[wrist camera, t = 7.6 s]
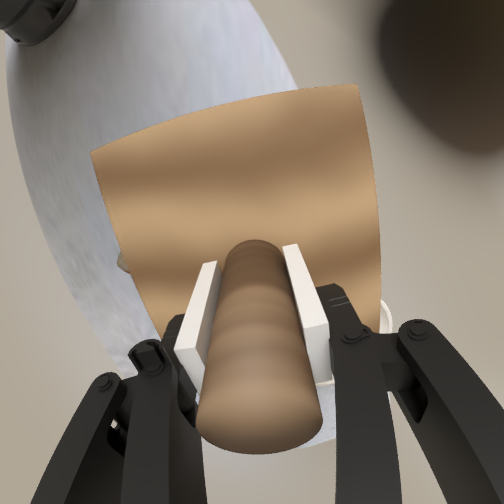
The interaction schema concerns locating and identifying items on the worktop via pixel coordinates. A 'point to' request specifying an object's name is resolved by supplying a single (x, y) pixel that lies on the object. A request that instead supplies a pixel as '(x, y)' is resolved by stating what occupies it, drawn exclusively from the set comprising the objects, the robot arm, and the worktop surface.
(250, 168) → the wooden block with knob
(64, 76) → the worktop surface
